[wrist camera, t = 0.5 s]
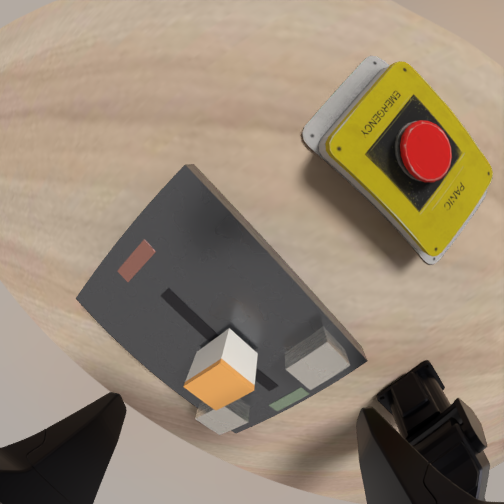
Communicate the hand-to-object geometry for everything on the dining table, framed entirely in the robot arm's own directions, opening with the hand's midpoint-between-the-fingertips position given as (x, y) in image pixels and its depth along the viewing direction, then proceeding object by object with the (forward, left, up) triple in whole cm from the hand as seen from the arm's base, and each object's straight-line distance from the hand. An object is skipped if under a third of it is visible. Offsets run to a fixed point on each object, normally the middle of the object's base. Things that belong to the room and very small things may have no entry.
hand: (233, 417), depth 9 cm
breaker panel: (-1, +5, -13) cm, 14 cm away
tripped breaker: (-3, +5, -11) cm, 12 cm away
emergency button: (-1, -15, -14) cm, 20 cm away
